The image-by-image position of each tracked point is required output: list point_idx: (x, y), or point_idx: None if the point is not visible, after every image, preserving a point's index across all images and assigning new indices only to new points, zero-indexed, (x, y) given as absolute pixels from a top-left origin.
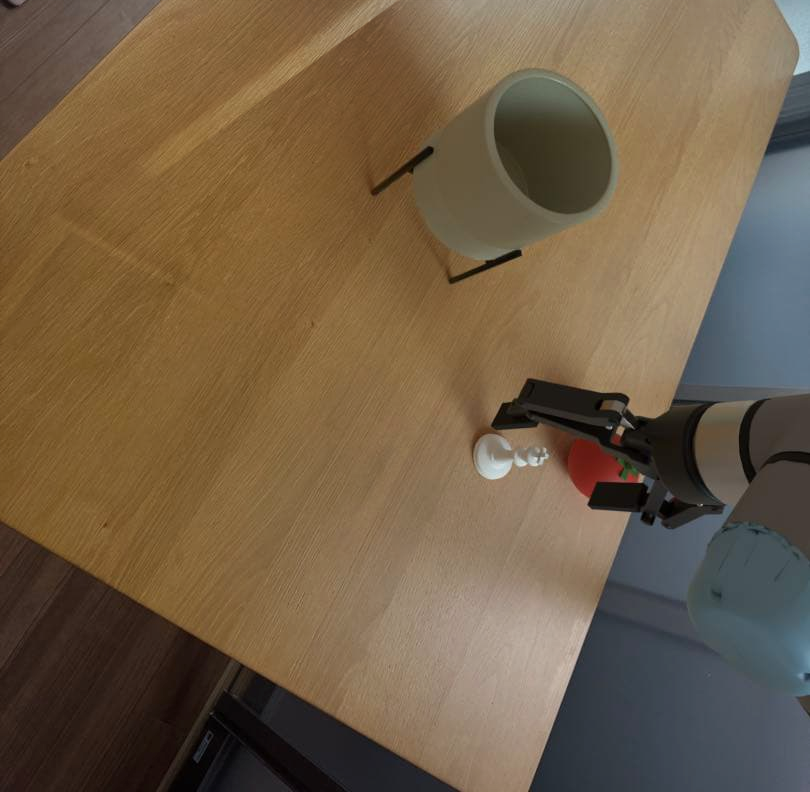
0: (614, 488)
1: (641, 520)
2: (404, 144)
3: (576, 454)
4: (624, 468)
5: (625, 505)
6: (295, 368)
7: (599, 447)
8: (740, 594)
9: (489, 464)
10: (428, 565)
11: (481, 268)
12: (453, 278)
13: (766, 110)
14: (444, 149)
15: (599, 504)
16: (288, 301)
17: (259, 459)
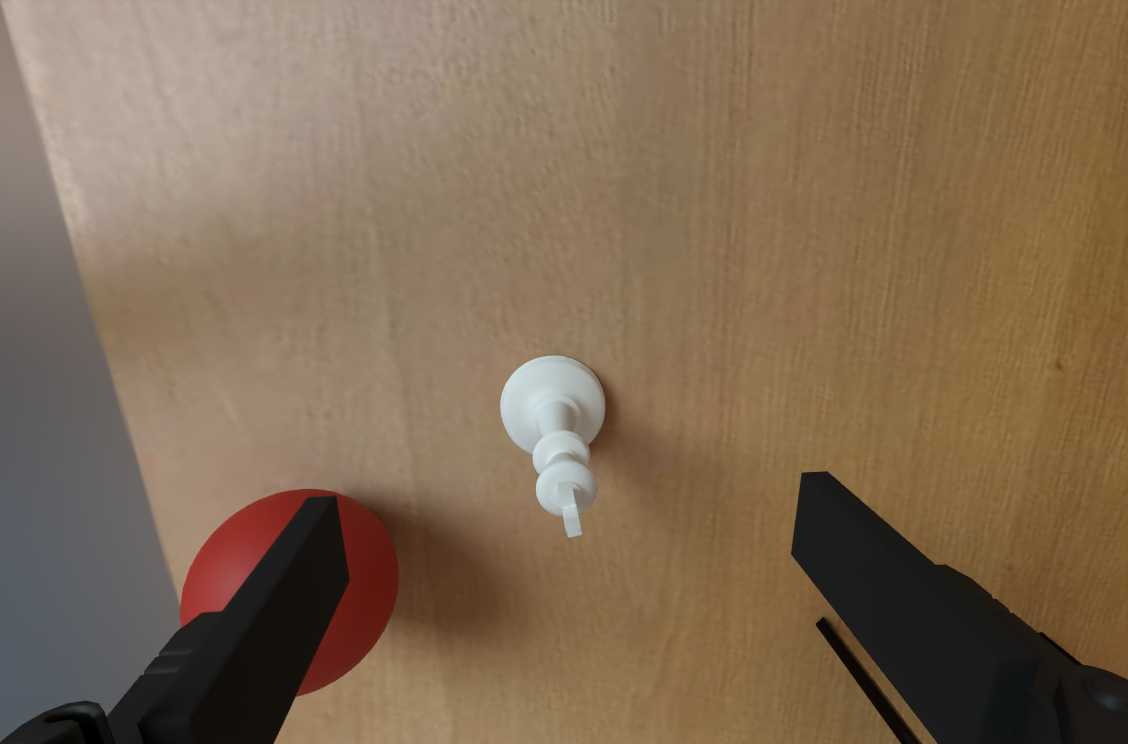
0: (304, 641)
1: (89, 712)
2: None
3: (389, 559)
4: None
5: (234, 667)
6: (1060, 268)
7: (359, 630)
8: None
9: (563, 386)
10: (564, 85)
11: (913, 735)
12: (838, 634)
13: None
14: None
15: (312, 540)
16: (1121, 368)
17: (1066, 47)
